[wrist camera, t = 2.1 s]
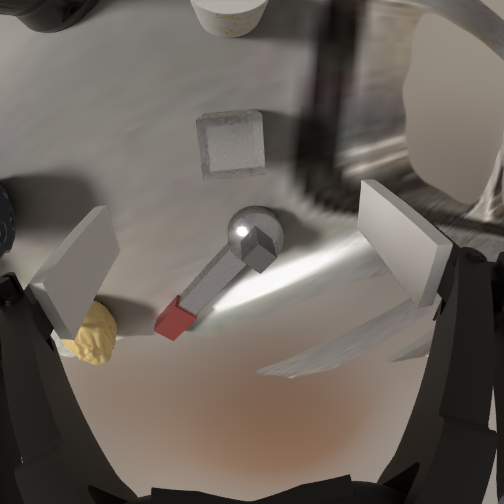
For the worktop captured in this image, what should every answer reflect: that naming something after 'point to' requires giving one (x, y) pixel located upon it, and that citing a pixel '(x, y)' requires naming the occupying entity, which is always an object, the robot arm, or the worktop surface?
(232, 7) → the cup
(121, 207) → the worktop surface
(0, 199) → the ring
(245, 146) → the frosted translucent cube
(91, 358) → the sculpture
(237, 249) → the ratchet
